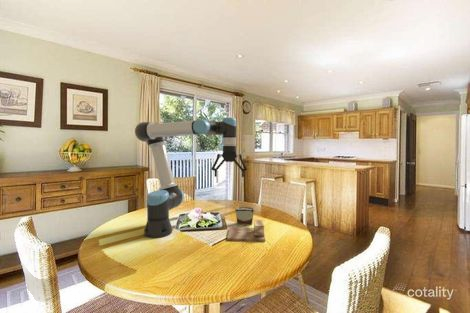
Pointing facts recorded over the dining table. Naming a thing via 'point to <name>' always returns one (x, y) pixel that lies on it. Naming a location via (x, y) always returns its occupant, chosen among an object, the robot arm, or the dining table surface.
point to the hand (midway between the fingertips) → (229, 182)
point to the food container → (244, 215)
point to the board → (243, 235)
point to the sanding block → (258, 228)
